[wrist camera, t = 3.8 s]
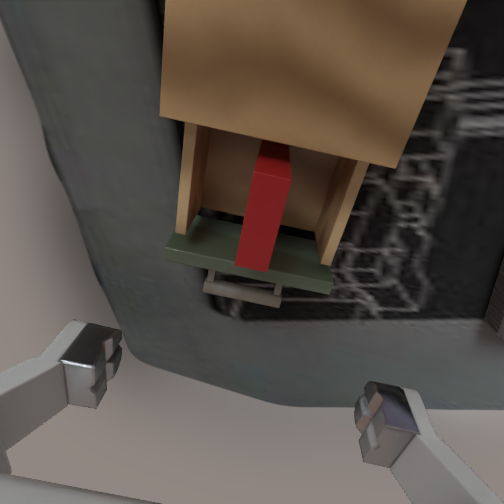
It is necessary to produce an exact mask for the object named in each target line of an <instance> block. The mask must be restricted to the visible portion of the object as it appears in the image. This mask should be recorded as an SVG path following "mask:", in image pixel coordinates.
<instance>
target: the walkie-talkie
mask: <svg viewBox="0 0 504 504" xmlns="http://www.w3.org/2000/svg"><path fill="white" fill-rule="evenodd" d="M484 319H485V320H486V321H487V323H488V324H489V325H490V326H491V328H492V329H493V330H494V331H495V333H496V334H497V335H498V336H499V337H500V338H501V339H502V340H504V257H503V260H502V263H501V266H500V270H499V274H498V278H497V279H496V283H495V287H494V288H493V292H492V296H491V297H490V301H489V305H488V308H487V310H486V313H485V317H484Z"/></svg>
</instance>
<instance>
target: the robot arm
mask: <svg viewBox="0 0 504 504" xmlns="http://www.w3.org/2000/svg"><path fill="white" fill-rule="evenodd" d="M121 339H122V331H121V330H118V329H114V328H110V327H106V326H101V325H97V324H93V323H87V322H82V321H78V320H72V321H71V322H69V323H68V324H67V325H66V327H65V328H64V329H63V330H62V331H61V332H60V333H59V335H58V336H57V337H56V338H55V340H54V341H53V342H52V343H51V344H50V345H49V346H48V348H47V349H46V350H45V351H44V352H43V354H42V355H41V356H40V357H39V358H37V357H33V358H31V359H29V360H27V361H24V362H22V363H20V364H18V365H16V366H14V367H12V368H10V369H8V370H5V371H3V372H1V373H0V504H160V503H155V502H149V501H145V500H140V499H135V498H129V497H124V496H119V495H114V494H108V493H103V492H98V491H92V490H88V489H82V488H77V487H72V486H67V485H61V484H56V483H51V482H46V481H41V480H36V479H30V478H25V477H20V476H14V475H10V474H11V466H10V463H9V460H8V457H7V454H6V450H8V449H9V448H11V447H12V446H13V445H15V444H16V443H17V442H19V441H20V440H21V439H23V438H24V437H26V436H27V435H28V434H30V433H31V432H32V431H34V430H35V429H37V428H38V427H39V426H41V425H42V424H43V423H45V422H46V421H48V420H49V419H50V418H52V417H53V416H54V415H56V414H57V413H59V412H60V411H61V410H63V409H64V408H65V407H67V406H68V404H71V405H77V406H83V407H88V408H94V409H96V408H97V406H98V405H99V403H100V401H101V399H102V397H103V396H104V394H105V392H106V390H107V384H106V383H107V381H109V380H110V379H112V378H113V377H114V375H115V374H116V372H117V370H118V367H119V364H120V361H121V356H122V348H121V347H120V345H119V343H120V341H121ZM364 390H365V394H364V395H362V396H360V397H359V398H358V400H357V402H356V405H355V411H354V416H355V424H356V427H357V428H358V430H359V431H360V432H361V434H362V436H361V438H360V439H359V444H360V448H361V453H362V457H363V462H366V463H370V464H375V465H379V466H383V467H387V468H390V471H391V472H392V474H393V475H394V477H395V478H396V480H397V481H398V483H399V484H400V486H401V487H402V489H403V490H404V492H405V493H406V495H407V496H408V498H409V499H410V501H411V502H412V504H504V502H503V501H502V500H501V499H500V498H499V497H498V495H496V493H494V491H493V490H492V489H491V488H490V487H489V486H488V485H487V484H486V483H485V482H484V481H483V480H482V479H481V478H480V477H479V476H478V475H477V474H476V473H475V472H474V471H473V470H472V469H471V468H470V467H469V466H468V465H467V464H466V463H465V462H464V461H463V460H462V459H461V458H460V457H459V456H458V455H457V454H456V452H454V450H453V449H451V447H450V446H449V445H448V444H447V443H445V441H444V440H442V439H438V437H437V434H436V432H435V430H434V427H433V425H432V423H431V420H430V418H429V416H428V413H427V411H426V408H425V406H424V404H423V401H422V399H421V397H420V394H419V393H418V392H417V391H416V390H413V389H408V388H403V387H398V386H394V385H389V384H383V383H378V382H373V381H369V382H368V383H367V384H366V386H365V387H364Z"/></svg>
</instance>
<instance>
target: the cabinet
mask: <svg viewBox="0 0 504 504" xmlns="http://www.w3.org/2000/svg"><path fill="white" fill-rule="evenodd" d="M466 2H467V0H166V2H165V21H164V40H163V59H162V78H161V97H160V116H161V117H166V118H170V119H175V120H179V121H184V122H188V123H193V124H197V125H202V126H206V127H210V128H215V129H219V130H224V131H228V132H233V133H237V134H242V135H246V136H251V137H255V138H260V139H264V140H269V141H273V142H278V143H282V144H286V145H291V146H295V147H300V148H304V149H309V150H313V151H318V152H322V153H327V154H331V155H336V156H340V157H345V158H349V159H353V160H358V161H362V162H367V163H371V164H376V165H380V166H385V167H389V168H394V169H396V167H397V164H398V162H399V160H400V157H401V155H402V153H403V150H404V148H405V145H406V143H407V141H408V138H409V136H410V134H411V131H412V129H413V127H414V124H415V122H416V120H417V117H418V115H419V112H420V110H421V108H422V105H423V103H424V101H425V98H426V96H427V94H428V91H429V89H430V87H431V84H432V82H433V80H434V77H435V75H436V72H437V70H438V68H439V65H440V63H441V61H442V58H443V56H444V54H445V51H446V49H447V47H448V44H449V42H450V39H451V37H452V35H453V32H454V30H455V28H456V25H457V23H458V21H459V18H460V16H461V14H462V11H463V9H464V6H465V4H466Z"/></svg>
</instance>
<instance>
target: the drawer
mask: <svg viewBox="0 0 504 504" xmlns="http://www.w3.org/2000/svg"><path fill="white" fill-rule="evenodd" d="M262 140H264V139H260V138H255V137H251V136H246V135H242V134H237V133H233V132H228V131H224V130H219V129H215V128H210V127H206V126H202V125H197V124H193V123H188V122H185V130H184V141H183V152H182V163H181V174H180V185H179V197H178V208H177V219H176V230H175V232H174V233H173V235H172V236H171V238H170V239H169V241H168V242H167V244H166V246H165V247H164V257H163V259H164V260H167V261H171V262H176V263H181V264H186V265H190V266H195V267H200V268H205V269H209V271H208V277H206V278H205V282H204V286H203V292H204V293H209V294H214V295H219V296H224V297H228V298H233V299H238V300H243V301H247V302H252V303H257V304H262V305H267V306H271V307H276V308H279V307H280V303H281V299H282V293H281V290H282V287H283V285H285V286H290V287H295V288H299V289H304V290H309V291H314V292H318V293H323V294H328V295H329V294H330V292H331V289H332V287H333V284H334V282H333V278H332V273H331V269H330V265H331V263H332V260H333V258H334V255H335V252H336V250H337V247H338V245H339V242H340V239H341V237H342V234H343V231H344V229H345V226H346V224H347V221H348V218H349V216H350V213H351V210H352V208H353V205H354V203H355V200H356V197H357V195H358V192H359V189H360V187H361V184H362V181H363V179H364V176H365V174H366V171H367V168H368V166H369V163H367V162H362V161H358V160H353V159H349V158H345V157H340V156H336V155H331V154H327V153H322V152H318V151H313V150H309V149H304V148H300V147H295V146H291V145H289V152H290V164H291V176H292V182H291V185H290V189H289V193H288V196H287V200H286V204H285V208H284V211H283V215H282V219H281V223H280V224H281V225H285V226H290V227H294V228H299V229H304V230H308V231H313V232H315V237H316V241H314V240H310V239H305V238H301V237H296V236H291V235H287V234H282V233H278V234H277V238H276V241H275V245H274V249H273V253H272V256H271V260H270V264H269V267H268V271H267V272H263V271H258V270H253V269H248V268H244V267H239V266H235V260H236V255H237V250H238V245H239V241H240V236H241V231H242V226H243V225H240V224H236V223H231V222H226V221H222V220H217V219H212V218H208V217H203V216H199V215H197V214H198V212H199V210H200V208H201V207H202V208H207V209H211V210H216V211H220V212H225V213H230V214H234V215H239V216H245V211H246V206H247V201H248V196H249V192H250V187H251V182H252V177H253V172H254V168H255V165H256V161H257V157H258V153H259V150H260V146H261V142H262ZM266 141H269V140H266ZM271 142H273V141H271ZM275 143H278V142H275ZM280 144H282V143H280ZM284 145H286V144H284ZM216 271H219V272H224V273H228V274H233V275H238V276H242V277H247V278H252V279H257V280H261V281H266V282H271V283H276V284H275V287H274V291H271V290H266V289H261V288H257V287H252V286H247V285H242V284H238V283H233V282H228V281H223V280H219V279H215V274H216Z"/></svg>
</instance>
